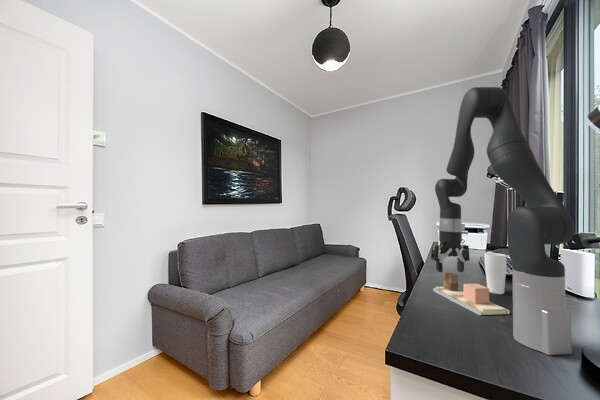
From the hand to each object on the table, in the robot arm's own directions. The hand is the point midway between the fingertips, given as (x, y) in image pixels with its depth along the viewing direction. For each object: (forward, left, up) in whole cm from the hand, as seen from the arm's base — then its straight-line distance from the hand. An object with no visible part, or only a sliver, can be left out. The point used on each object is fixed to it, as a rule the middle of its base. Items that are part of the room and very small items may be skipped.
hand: (450, 271), depth 95 cm
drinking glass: (0, -19, -8) cm, 21 cm away
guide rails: (-8, 0, -8) cm, 12 cm away
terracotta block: (-12, 0, -7) cm, 14 cm away
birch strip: (-8, 0, -8) cm, 12 cm away
